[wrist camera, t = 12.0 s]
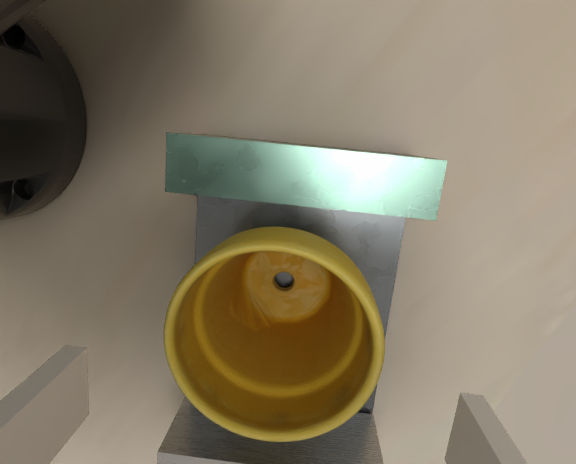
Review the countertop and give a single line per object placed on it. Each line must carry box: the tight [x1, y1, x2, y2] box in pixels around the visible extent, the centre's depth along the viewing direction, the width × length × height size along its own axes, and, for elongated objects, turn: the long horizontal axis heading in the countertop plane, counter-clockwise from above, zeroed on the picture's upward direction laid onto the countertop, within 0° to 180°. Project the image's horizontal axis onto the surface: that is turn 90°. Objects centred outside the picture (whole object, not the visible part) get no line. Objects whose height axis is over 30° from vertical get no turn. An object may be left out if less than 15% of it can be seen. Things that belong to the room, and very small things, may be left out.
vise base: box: [165, 133, 447, 414], centre depth 26 cm, size 14×24×8 cm, turn 174°
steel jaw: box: [157, 396, 383, 464], centre depth 27 cm, size 14×3×6 cm, turn 85°
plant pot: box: [164, 227, 385, 442], centre depth 23 cm, size 10×10×10 cm
